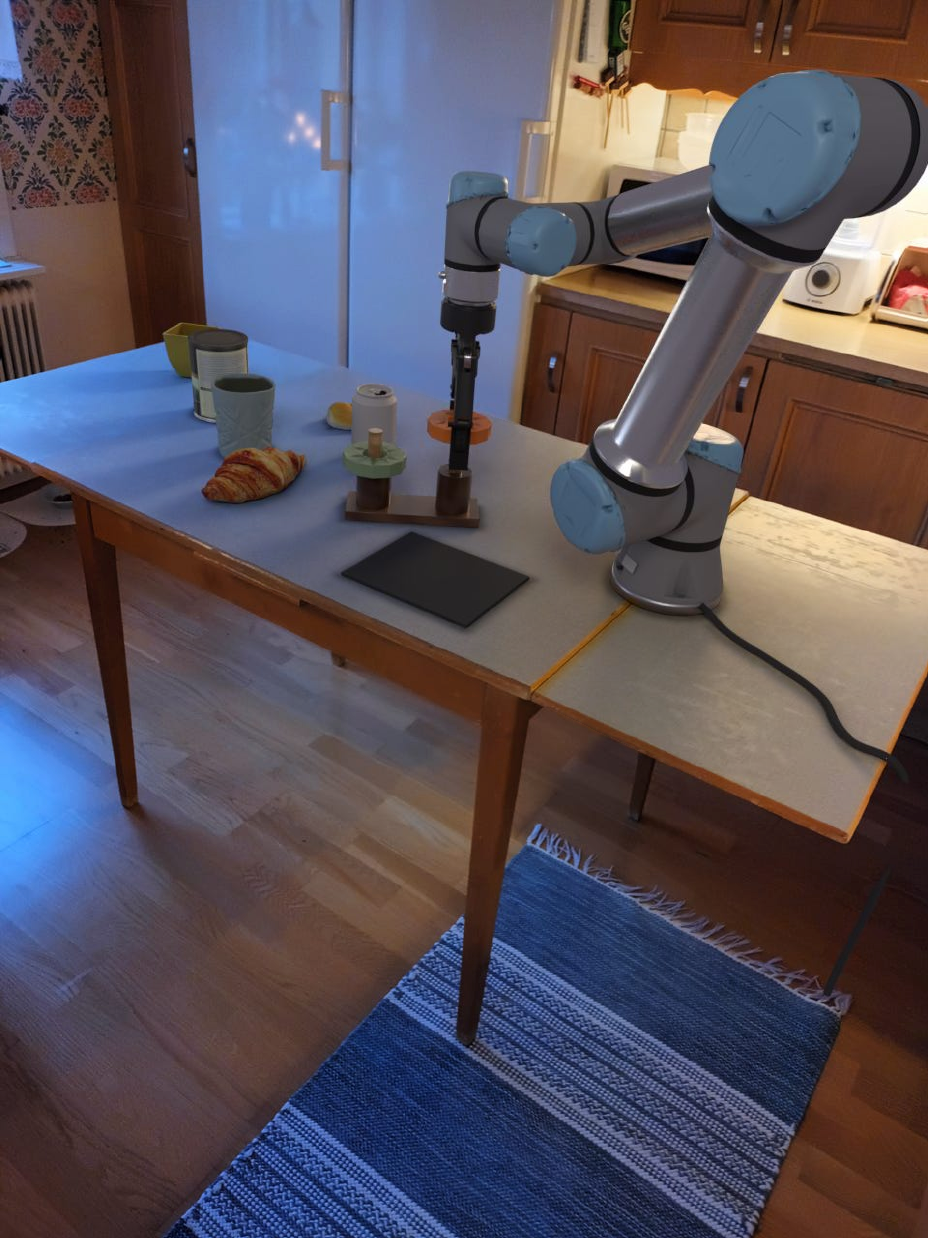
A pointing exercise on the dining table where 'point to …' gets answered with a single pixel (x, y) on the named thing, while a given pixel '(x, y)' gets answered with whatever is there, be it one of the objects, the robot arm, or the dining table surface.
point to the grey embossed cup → (243, 411)
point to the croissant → (253, 474)
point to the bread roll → (340, 415)
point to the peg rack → (413, 498)
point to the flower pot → (181, 346)
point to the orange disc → (442, 432)
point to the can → (373, 412)
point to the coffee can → (214, 364)
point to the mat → (436, 578)
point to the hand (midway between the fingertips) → (457, 455)
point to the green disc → (374, 461)
